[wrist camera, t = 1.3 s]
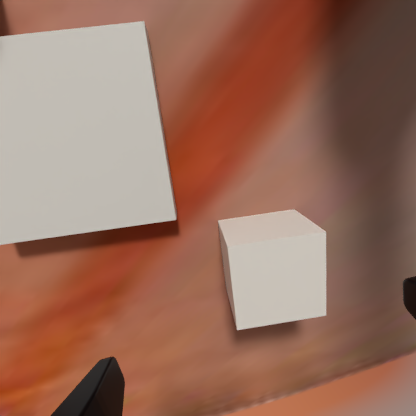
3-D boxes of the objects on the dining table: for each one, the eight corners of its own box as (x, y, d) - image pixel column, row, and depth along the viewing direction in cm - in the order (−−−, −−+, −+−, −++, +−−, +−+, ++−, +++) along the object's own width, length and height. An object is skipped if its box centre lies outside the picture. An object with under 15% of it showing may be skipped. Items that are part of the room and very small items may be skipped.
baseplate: (147, 30, 17) (143, 21, 15) (176, 213, 20) (176, 219, 18) (-53, 52, 16) (-76, 44, 15) (12, 236, 19) (-2, 244, 18)
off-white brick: (293, 208, 21) (326, 231, 16) (296, 276, 22) (326, 315, 18) (217, 219, 20) (227, 246, 16) (225, 287, 22) (237, 330, 17)
